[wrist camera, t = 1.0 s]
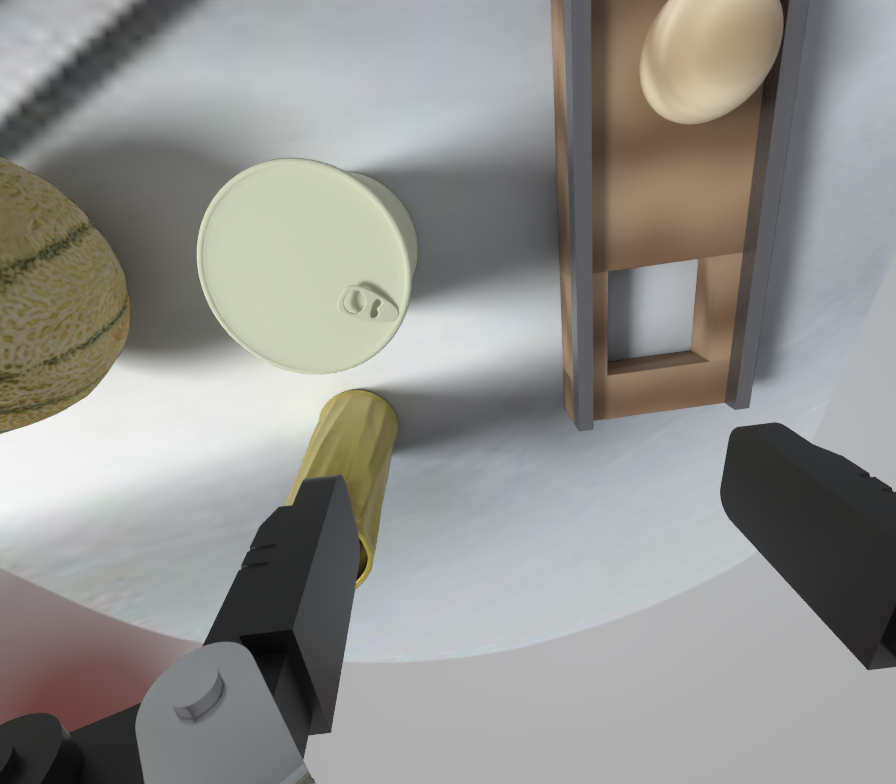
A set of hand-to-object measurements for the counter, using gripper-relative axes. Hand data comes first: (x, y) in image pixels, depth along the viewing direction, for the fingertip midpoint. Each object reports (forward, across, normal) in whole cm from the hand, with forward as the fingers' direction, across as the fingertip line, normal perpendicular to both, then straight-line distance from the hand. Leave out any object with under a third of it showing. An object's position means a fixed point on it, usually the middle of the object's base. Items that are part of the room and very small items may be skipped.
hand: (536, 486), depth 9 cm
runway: (+24, -13, -2) cm, 27 cm away
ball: (+18, -13, -10) cm, 25 cm away
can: (+24, +7, -3) cm, 25 cm away
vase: (+24, +9, +10) cm, 27 cm away
